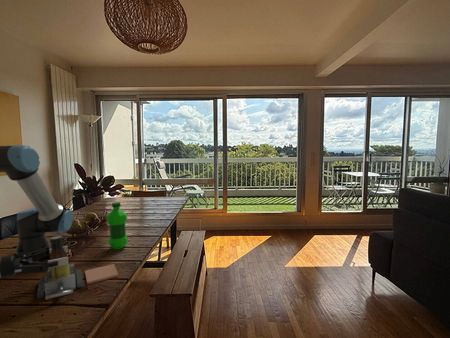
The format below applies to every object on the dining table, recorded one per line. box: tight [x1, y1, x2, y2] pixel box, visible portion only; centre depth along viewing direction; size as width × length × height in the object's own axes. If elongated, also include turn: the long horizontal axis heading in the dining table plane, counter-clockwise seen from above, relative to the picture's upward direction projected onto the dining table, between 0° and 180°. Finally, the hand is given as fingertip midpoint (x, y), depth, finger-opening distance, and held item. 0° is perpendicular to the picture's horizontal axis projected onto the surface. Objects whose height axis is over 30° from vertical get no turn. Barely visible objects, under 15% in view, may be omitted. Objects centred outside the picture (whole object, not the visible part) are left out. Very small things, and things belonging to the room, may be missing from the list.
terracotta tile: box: [84, 263, 119, 285], centre depth 115 cm, size 12×12×1 cm
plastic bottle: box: [106, 201, 129, 250], centre depth 145 cm, size 10×10×25 cm
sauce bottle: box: [48, 235, 70, 279], centre depth 107 cm, size 6×6×20 cm
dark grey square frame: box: [36, 262, 84, 300], centre depth 104 cm, size 21×15×5 cm
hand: (68, 254), depth 108 cm, fingers open, 13 cm apart
